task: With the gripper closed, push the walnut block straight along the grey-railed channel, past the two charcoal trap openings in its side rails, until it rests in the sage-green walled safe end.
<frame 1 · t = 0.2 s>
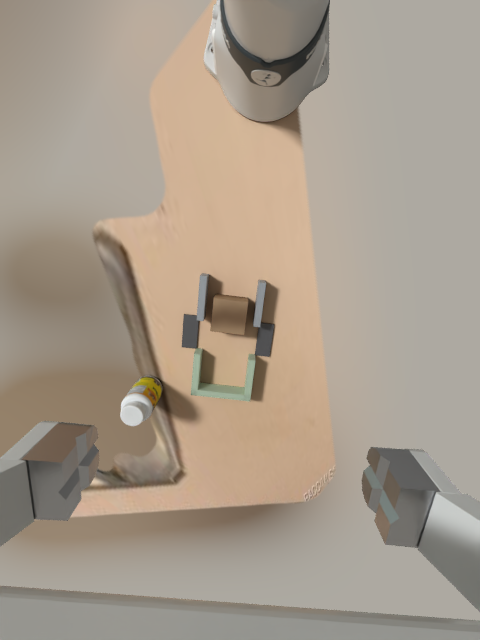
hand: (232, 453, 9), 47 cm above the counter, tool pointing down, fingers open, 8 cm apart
trap channel: (227, 336, 58), on the counter
supplement bottle: (150, 386, 61), on the counter
walnut block: (230, 311, 57), on the counter
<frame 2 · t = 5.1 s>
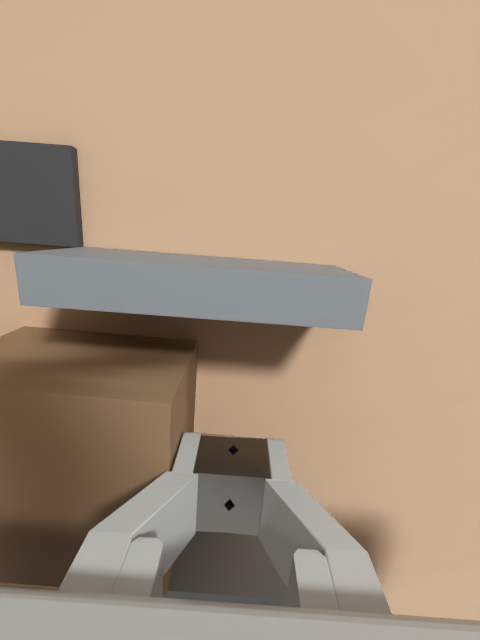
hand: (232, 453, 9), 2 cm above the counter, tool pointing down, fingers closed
walnut block: (114, 409, 11), on the counter, touching gripper
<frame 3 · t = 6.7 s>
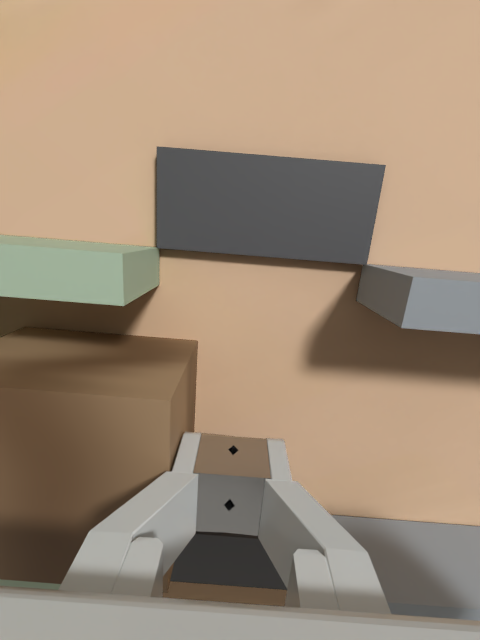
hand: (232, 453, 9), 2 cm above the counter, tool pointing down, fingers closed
trap channel: (239, 411, 11), on the counter
walnut block: (115, 408, 11), on the counter
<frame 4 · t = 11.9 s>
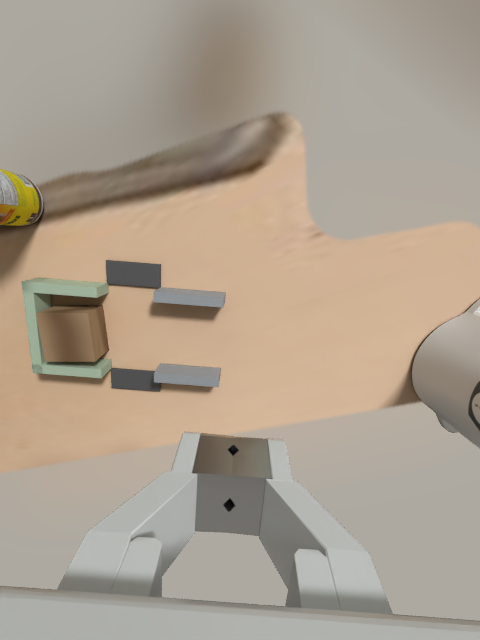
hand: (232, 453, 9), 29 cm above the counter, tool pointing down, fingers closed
trap channel: (133, 329, 39), on the counter
supplement bottle: (23, 200, 35), on the counter
walnut block: (83, 327, 39), on the counter
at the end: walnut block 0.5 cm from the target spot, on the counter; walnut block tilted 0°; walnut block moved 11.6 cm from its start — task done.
